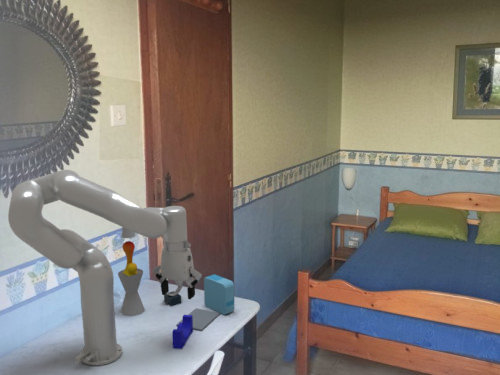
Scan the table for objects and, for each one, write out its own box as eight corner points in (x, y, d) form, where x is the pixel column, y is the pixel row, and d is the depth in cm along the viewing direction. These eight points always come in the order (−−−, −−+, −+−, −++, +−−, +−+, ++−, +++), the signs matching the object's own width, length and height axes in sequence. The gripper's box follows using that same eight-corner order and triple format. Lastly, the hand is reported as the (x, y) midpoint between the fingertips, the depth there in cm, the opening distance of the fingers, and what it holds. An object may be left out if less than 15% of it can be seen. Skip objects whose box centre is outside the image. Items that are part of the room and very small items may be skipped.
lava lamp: (115, 310, 188) (109, 219, 181) (137, 303, 193) (132, 215, 186) (127, 318, 181) (122, 224, 174) (149, 310, 187) (145, 219, 180)
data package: (234, 312, 185) (234, 281, 183) (225, 316, 182) (225, 285, 180) (213, 302, 194) (212, 273, 191) (204, 306, 190) (203, 276, 188)
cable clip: (180, 330, 172) (179, 314, 171) (192, 331, 171) (192, 315, 170) (168, 348, 160) (167, 330, 159) (181, 349, 160) (181, 332, 158)
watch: (185, 301, 194) (184, 274, 192) (167, 307, 190) (166, 280, 187) (178, 297, 199) (177, 270, 197) (160, 302, 194) (158, 275, 192)
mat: (201, 331, 171) (201, 329, 171) (176, 326, 175) (176, 324, 175) (220, 314, 184) (220, 312, 184) (195, 309, 188) (195, 308, 187)
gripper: (205, 244, 160) (207, 294, 163) (158, 238, 166) (161, 287, 170) (193, 251, 153) (196, 304, 156) (145, 245, 160) (149, 296, 163)
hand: (178, 295), depth 163 cm, fingers open, 9 cm apart
